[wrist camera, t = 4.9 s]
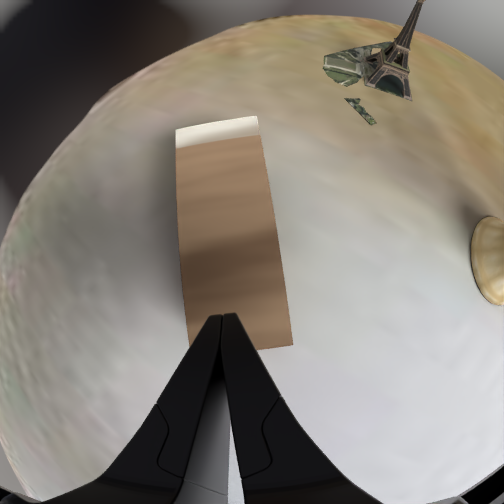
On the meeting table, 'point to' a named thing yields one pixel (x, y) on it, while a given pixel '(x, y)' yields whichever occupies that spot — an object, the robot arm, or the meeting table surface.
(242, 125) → the wooden block
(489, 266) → the hand bell
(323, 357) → the meeting table surface
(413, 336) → the meeting table surface
